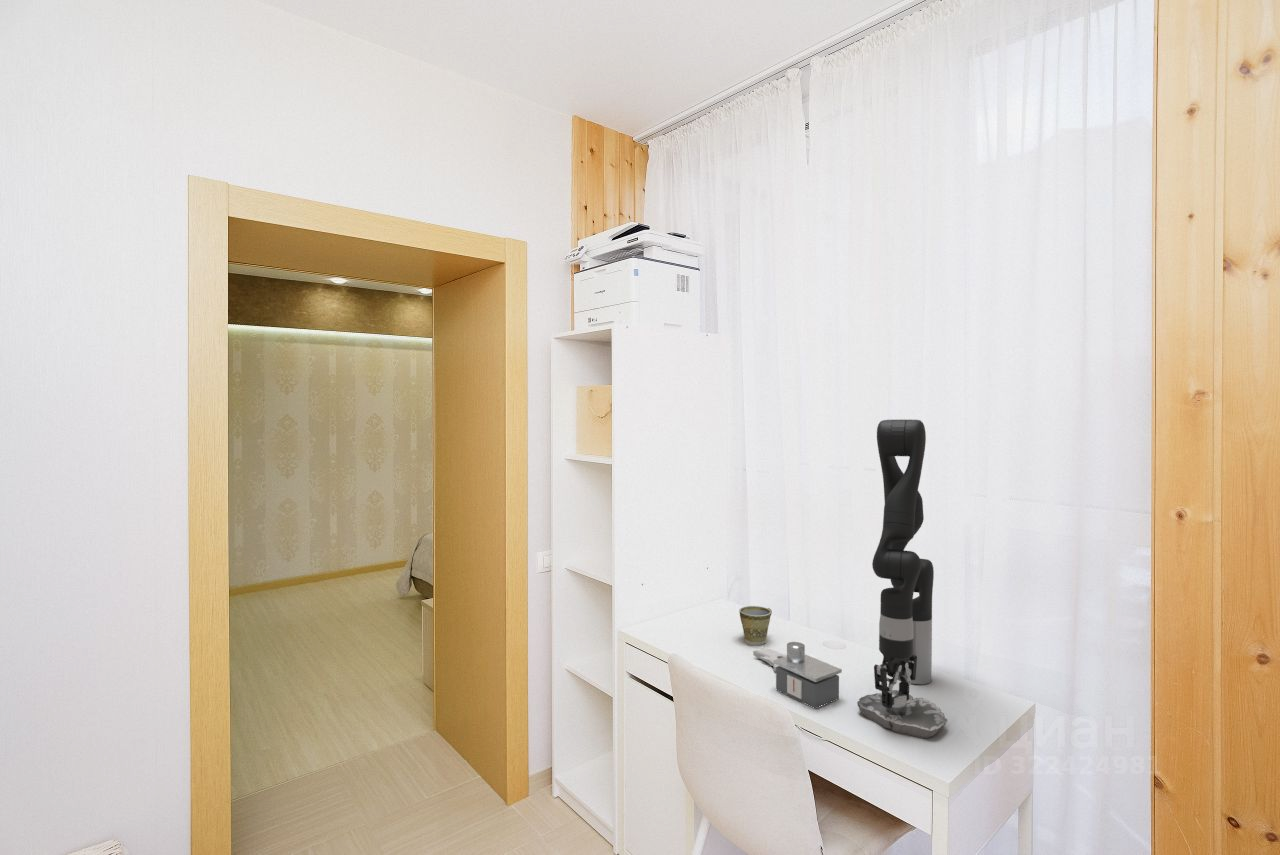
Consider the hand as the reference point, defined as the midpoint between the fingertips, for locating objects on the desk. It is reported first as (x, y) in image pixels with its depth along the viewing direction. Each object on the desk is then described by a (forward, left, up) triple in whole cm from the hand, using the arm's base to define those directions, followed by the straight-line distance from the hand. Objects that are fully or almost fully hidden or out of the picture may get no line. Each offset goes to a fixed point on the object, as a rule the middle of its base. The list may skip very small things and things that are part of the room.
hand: (895, 702), depth 149 cm
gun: (-28, -26, -5) cm, 38 cm away
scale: (-11, -20, -4) cm, 23 cm away
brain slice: (-2, +2, -5) cm, 6 cm away
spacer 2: (0, 0, -2) cm, 2 cm away
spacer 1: (-14, -22, +3) cm, 26 cm away
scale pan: (-11, -20, +2) cm, 23 cm away
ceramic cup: (-47, -32, -5) cm, 57 cm away
